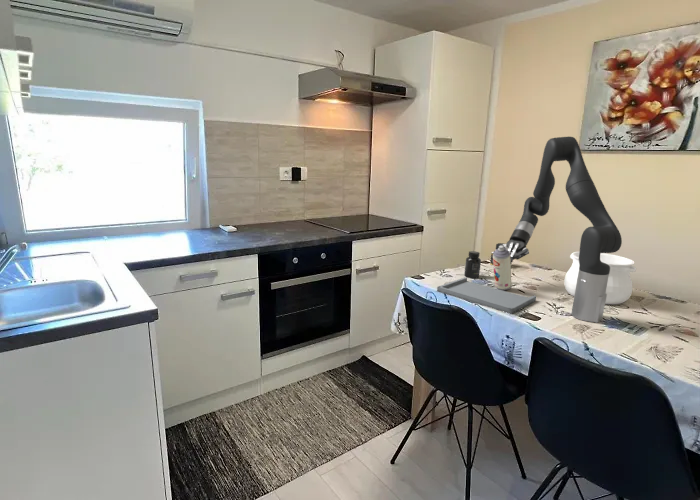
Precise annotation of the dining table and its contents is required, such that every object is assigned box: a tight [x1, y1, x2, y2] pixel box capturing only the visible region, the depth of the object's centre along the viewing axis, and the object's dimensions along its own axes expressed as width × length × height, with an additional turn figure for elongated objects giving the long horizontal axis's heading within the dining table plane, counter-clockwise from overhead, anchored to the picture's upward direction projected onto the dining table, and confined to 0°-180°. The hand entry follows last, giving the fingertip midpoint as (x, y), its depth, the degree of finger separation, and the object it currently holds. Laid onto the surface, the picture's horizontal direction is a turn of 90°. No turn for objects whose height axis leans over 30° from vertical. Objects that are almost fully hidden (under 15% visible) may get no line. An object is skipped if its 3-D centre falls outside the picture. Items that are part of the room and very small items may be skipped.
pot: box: [563, 251, 637, 305], centre depth 168 cm, size 26×24×17 cm
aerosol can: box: [492, 246, 512, 291], centre depth 170 cm, size 7×7×20 cm
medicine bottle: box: [489, 242, 508, 267], centre depth 212 cm, size 7×7×12 cm
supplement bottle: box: [464, 250, 482, 279], centre depth 190 cm, size 7×7×12 cm
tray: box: [436, 276, 537, 315], centre depth 164 cm, size 32×22×2 cm
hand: (506, 264), depth 173 cm, fingers closed
